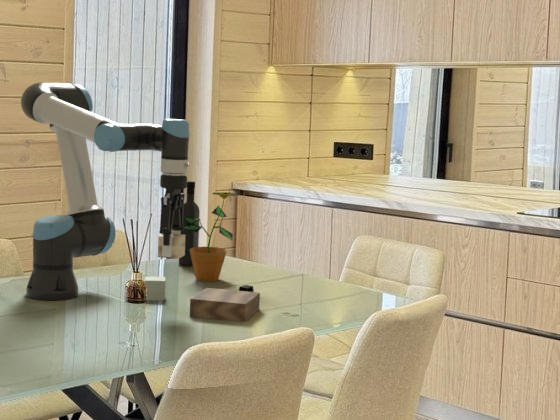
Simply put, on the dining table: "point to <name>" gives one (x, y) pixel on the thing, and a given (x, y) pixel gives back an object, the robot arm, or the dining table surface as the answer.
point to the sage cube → (155, 288)
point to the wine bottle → (193, 212)
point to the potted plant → (209, 248)
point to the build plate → (246, 288)
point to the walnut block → (224, 304)
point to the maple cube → (173, 246)
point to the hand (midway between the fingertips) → (170, 254)
